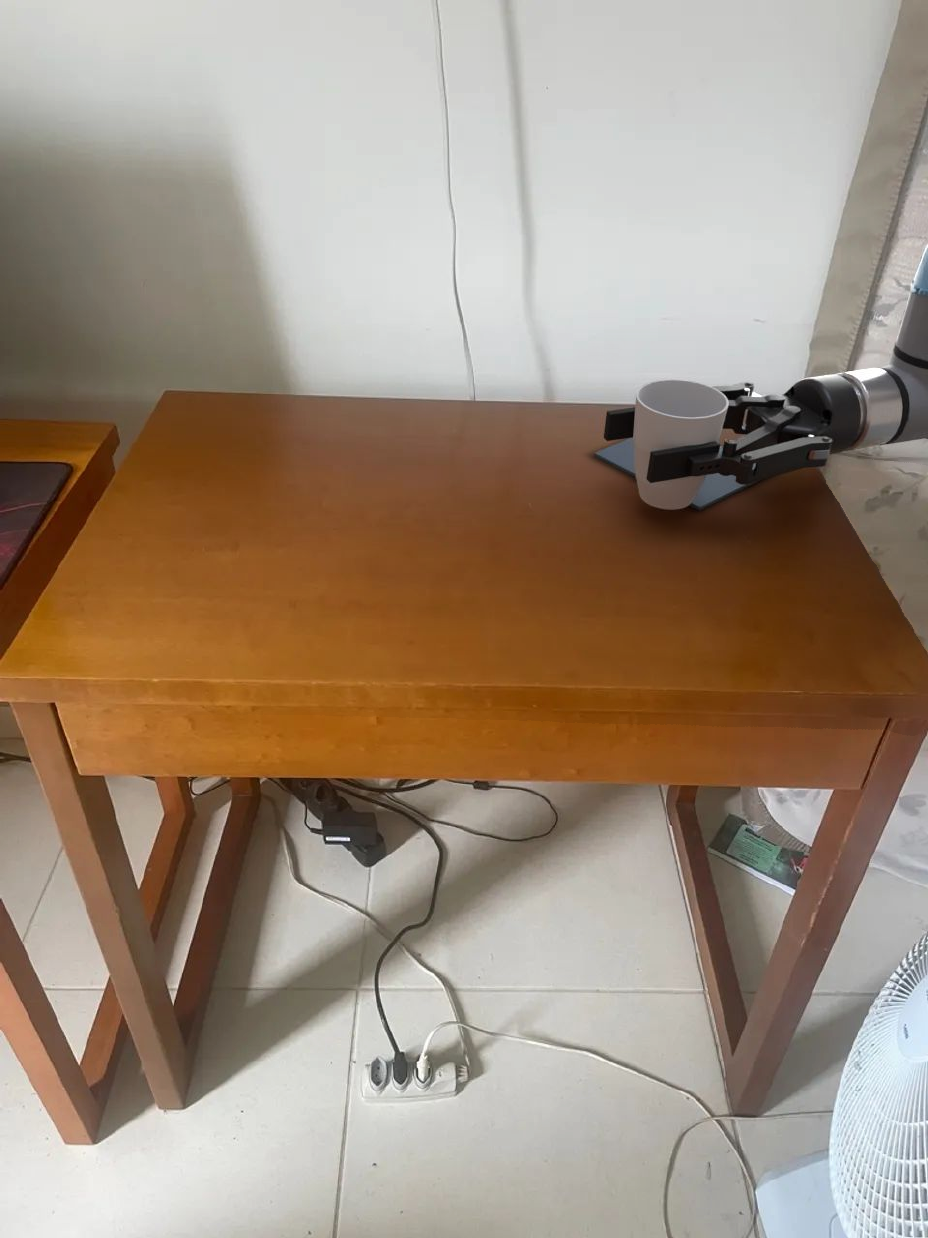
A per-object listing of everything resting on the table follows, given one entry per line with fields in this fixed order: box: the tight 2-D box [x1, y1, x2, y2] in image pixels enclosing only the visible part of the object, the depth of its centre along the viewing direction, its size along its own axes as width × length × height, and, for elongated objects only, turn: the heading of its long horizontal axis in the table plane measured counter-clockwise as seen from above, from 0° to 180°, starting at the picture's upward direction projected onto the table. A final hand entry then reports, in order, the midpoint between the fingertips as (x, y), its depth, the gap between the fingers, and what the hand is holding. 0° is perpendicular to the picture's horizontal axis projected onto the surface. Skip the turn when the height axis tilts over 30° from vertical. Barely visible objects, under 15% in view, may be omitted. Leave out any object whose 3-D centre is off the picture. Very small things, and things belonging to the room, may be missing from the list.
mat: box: [593, 437, 759, 511], centre depth 102 cm, size 14×12×1 cm
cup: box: [633, 378, 729, 511], centre depth 90 cm, size 8×8×10 cm
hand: (628, 446), depth 88 cm, fingers closed on cup, 8 cm apart
